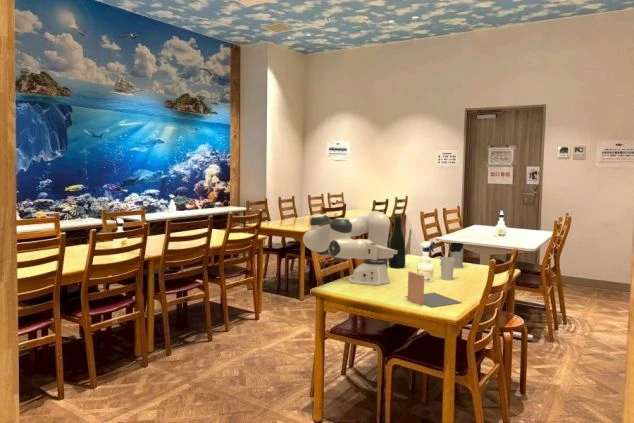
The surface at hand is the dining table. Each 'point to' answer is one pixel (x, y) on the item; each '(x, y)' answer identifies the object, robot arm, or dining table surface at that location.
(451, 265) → the cup
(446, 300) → the mat
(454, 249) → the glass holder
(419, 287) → the tile
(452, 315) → the dining table surface
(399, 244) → the dark green bottle
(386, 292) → the dining table surface
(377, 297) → the dining table surface
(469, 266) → the dining table surface
